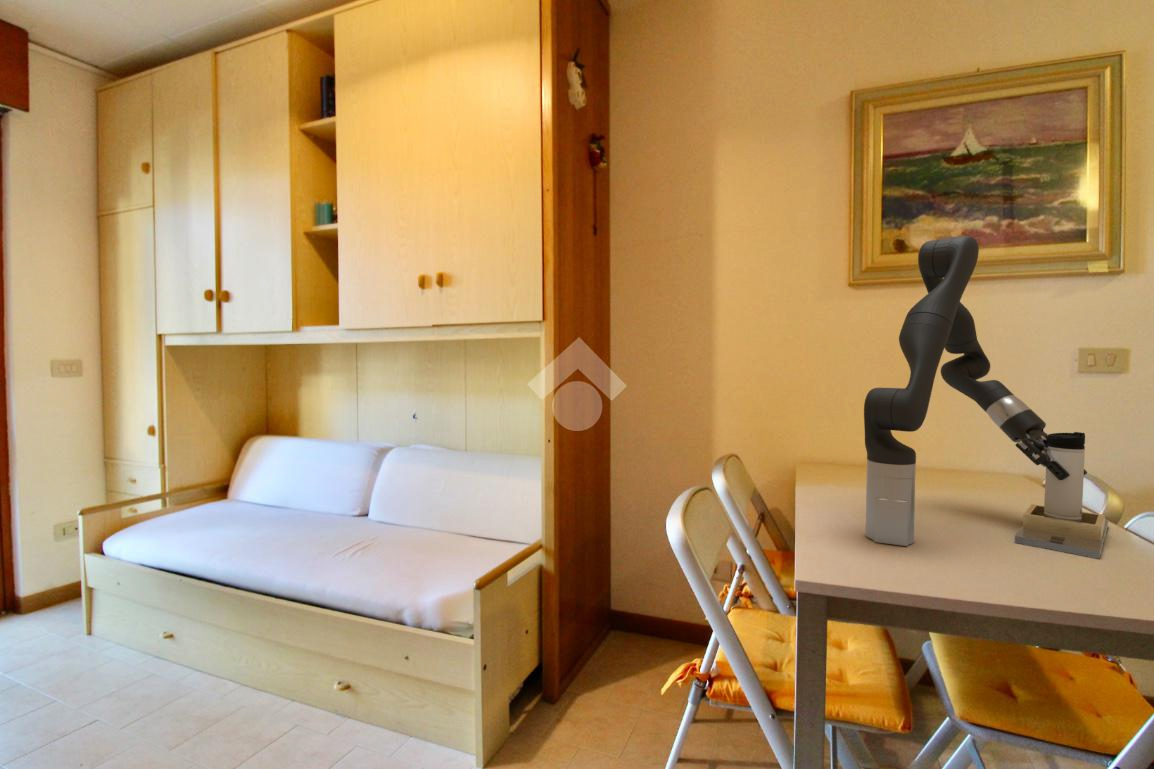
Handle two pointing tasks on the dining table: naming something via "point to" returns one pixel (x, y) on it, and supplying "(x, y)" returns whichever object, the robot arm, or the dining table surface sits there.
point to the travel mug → (1066, 493)
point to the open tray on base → (1063, 532)
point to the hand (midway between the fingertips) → (1074, 476)
